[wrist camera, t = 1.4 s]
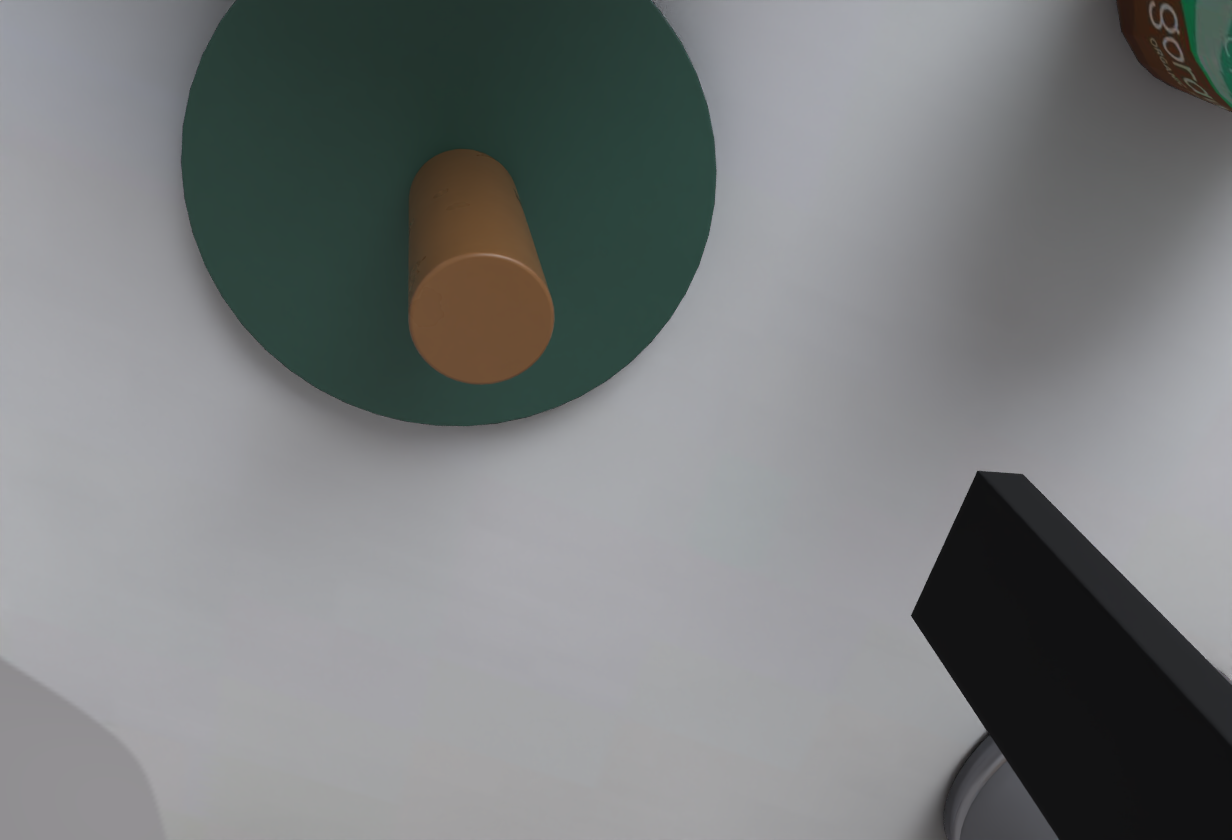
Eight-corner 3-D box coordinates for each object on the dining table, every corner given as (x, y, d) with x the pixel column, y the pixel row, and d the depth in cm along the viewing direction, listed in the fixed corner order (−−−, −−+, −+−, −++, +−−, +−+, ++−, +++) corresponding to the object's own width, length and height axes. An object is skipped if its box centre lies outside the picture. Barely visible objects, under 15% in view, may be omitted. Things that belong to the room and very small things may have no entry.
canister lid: (648, 423, 30) (724, 603, 23) (195, 387, 27) (112, 585, 19) (761, -34, 24) (917, 11, 16) (184, -161, 20) (56, -174, 13)
